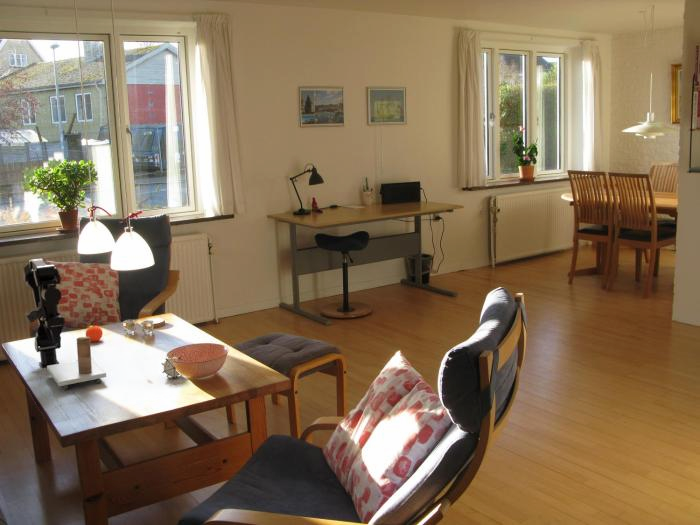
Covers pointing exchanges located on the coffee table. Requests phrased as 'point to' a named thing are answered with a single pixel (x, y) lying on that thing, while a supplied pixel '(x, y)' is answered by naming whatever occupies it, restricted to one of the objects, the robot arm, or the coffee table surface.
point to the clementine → (94, 333)
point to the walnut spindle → (84, 355)
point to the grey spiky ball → (171, 367)
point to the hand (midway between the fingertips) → (53, 340)
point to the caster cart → (74, 373)
